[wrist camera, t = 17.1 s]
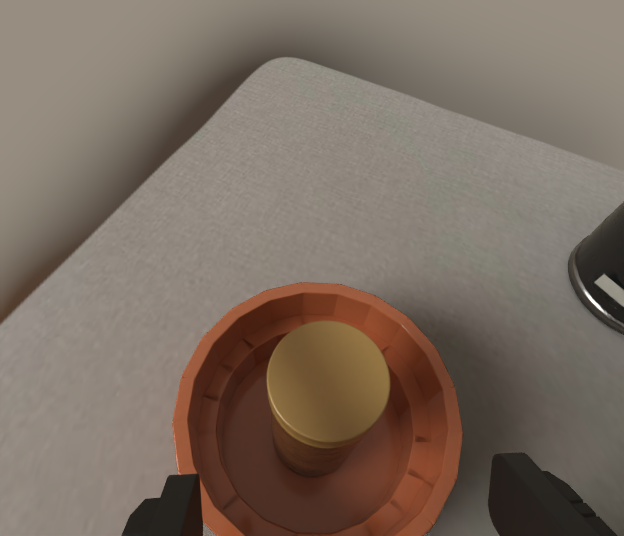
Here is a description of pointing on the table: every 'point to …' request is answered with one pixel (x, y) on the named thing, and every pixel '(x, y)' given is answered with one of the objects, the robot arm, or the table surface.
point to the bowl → (363, 459)
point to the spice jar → (324, 395)
